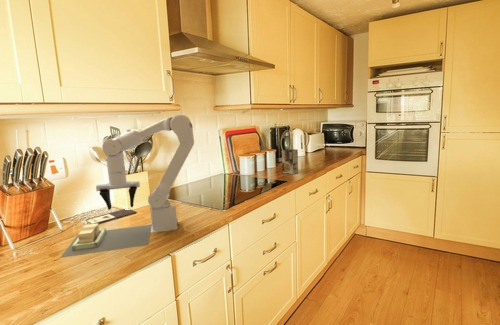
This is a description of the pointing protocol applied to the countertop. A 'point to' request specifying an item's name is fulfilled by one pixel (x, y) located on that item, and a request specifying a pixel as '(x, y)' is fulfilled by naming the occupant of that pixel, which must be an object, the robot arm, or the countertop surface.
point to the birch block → (89, 233)
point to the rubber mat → (116, 240)
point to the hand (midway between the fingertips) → (121, 207)
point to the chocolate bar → (110, 216)
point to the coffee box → (290, 161)
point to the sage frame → (91, 244)
